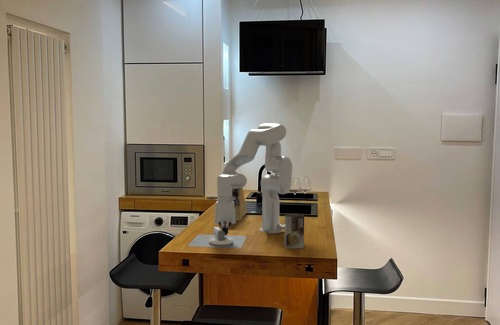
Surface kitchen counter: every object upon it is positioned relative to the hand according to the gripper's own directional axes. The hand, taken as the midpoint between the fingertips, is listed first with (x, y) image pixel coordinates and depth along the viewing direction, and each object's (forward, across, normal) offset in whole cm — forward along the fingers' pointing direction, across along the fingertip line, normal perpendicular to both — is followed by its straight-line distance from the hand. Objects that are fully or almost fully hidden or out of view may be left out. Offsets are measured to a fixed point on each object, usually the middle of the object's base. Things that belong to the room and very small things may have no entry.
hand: (225, 234), depth 257 cm
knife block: (+5, +2, -60) cm, 60 cm away
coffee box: (+5, -35, +4) cm, 35 cm away
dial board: (+4, +3, +3) cm, 6 cm away
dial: (+2, +2, +3) cm, 5 cm away
